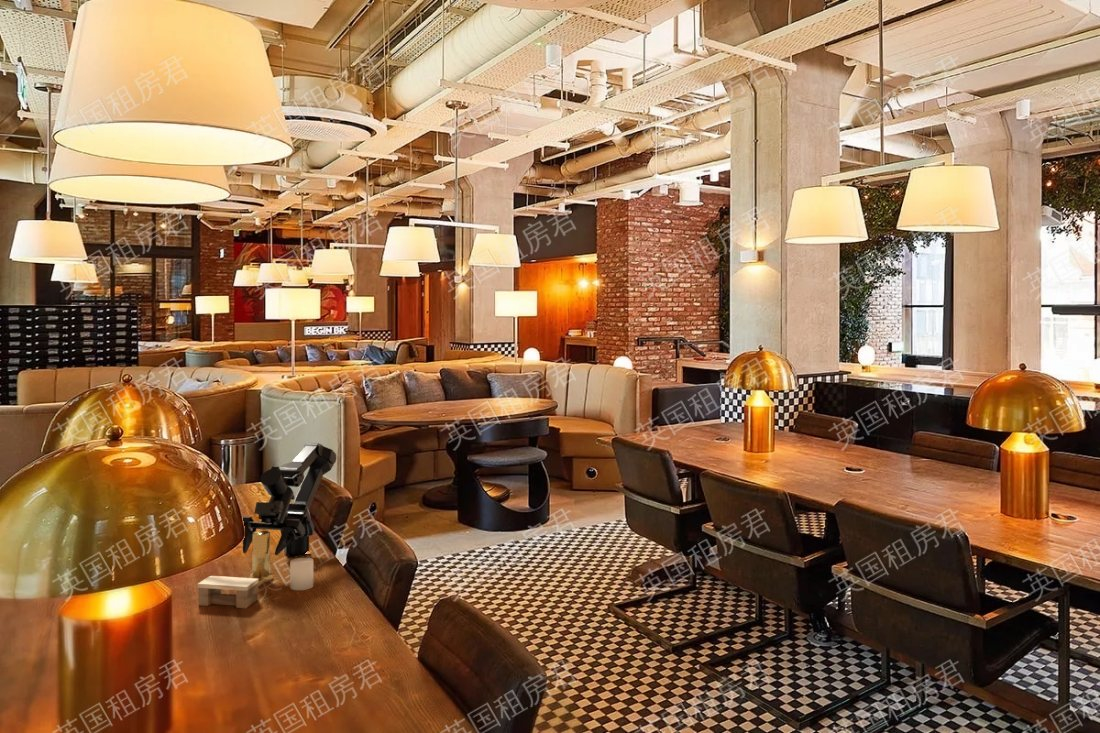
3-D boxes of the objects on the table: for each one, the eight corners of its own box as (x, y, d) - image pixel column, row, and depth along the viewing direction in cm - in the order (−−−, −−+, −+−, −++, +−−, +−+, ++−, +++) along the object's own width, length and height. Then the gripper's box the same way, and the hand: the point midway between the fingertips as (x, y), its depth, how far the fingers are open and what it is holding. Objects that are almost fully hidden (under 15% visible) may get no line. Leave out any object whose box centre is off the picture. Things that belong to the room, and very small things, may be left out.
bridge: (210, 596, 195) (210, 575, 195) (258, 599, 194) (258, 578, 193) (197, 605, 189) (197, 583, 189) (246, 608, 188) (246, 586, 188)
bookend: (256, 574, 212) (256, 529, 211) (276, 576, 211) (276, 530, 210) (235, 589, 200) (235, 541, 200) (256, 590, 200) (256, 542, 199)
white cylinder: (309, 581, 208) (309, 556, 208) (316, 587, 203) (316, 562, 203) (287, 584, 205) (287, 559, 204) (293, 591, 200) (293, 566, 199)
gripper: (237, 488, 213) (216, 537, 202) (301, 491, 211) (283, 541, 200) (251, 508, 221) (231, 557, 211) (312, 512, 219) (295, 561, 209)
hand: (259, 553), depth 207 cm, fingers open, 9 cm apart
